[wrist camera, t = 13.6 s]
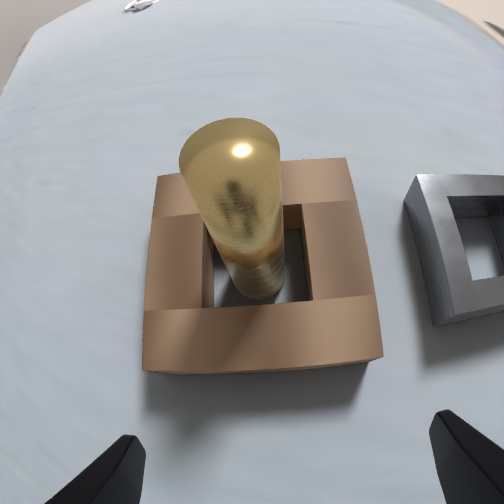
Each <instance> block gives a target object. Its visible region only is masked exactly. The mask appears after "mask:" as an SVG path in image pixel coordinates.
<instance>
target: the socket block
mask: <svg viewBox="0 0 504 504" xmlns="http://www.w3.org/2000/svg"><path fill="white" fill-rule="evenodd" d="M404 202H405V205H406V209H407V212H408V215H409V219H410V222H411V226H412V230H413V233H414V237H415V241H416V245H417V249H418V253H419V257H420V261H421V265H422V270H423V274H424V279H425V283H426V288H427V293H428V298H429V304H430V309H431V315H432V321H433V326H437V325H442V324H448V323H453V322H457V321H462V320H467V319H472V318H476V317H481V316H485V315H489V314H494V313H498V312H502V311H504V276H499V277H493V278H487V279H481V280H475V281H472V277H471V273H470V269H469V265H468V261H467V258H466V254H465V250H464V247H463V244H462V240H461V237H460V234H459V230H458V227H457V224H456V221H455V218H466V217H485V216H488V217H489V219H490V222H491V225H492V228H493V231H494V234H495V237H496V240H497V243H498V246H499V249H500V253H501V256H502V260H503V263H504V176H499V175H461V174H416V176H415V179H414V181H413V183H412V185H411V187H410V189H409V191H408V193H407V195H406V197H405V199H404Z"/></svg>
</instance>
